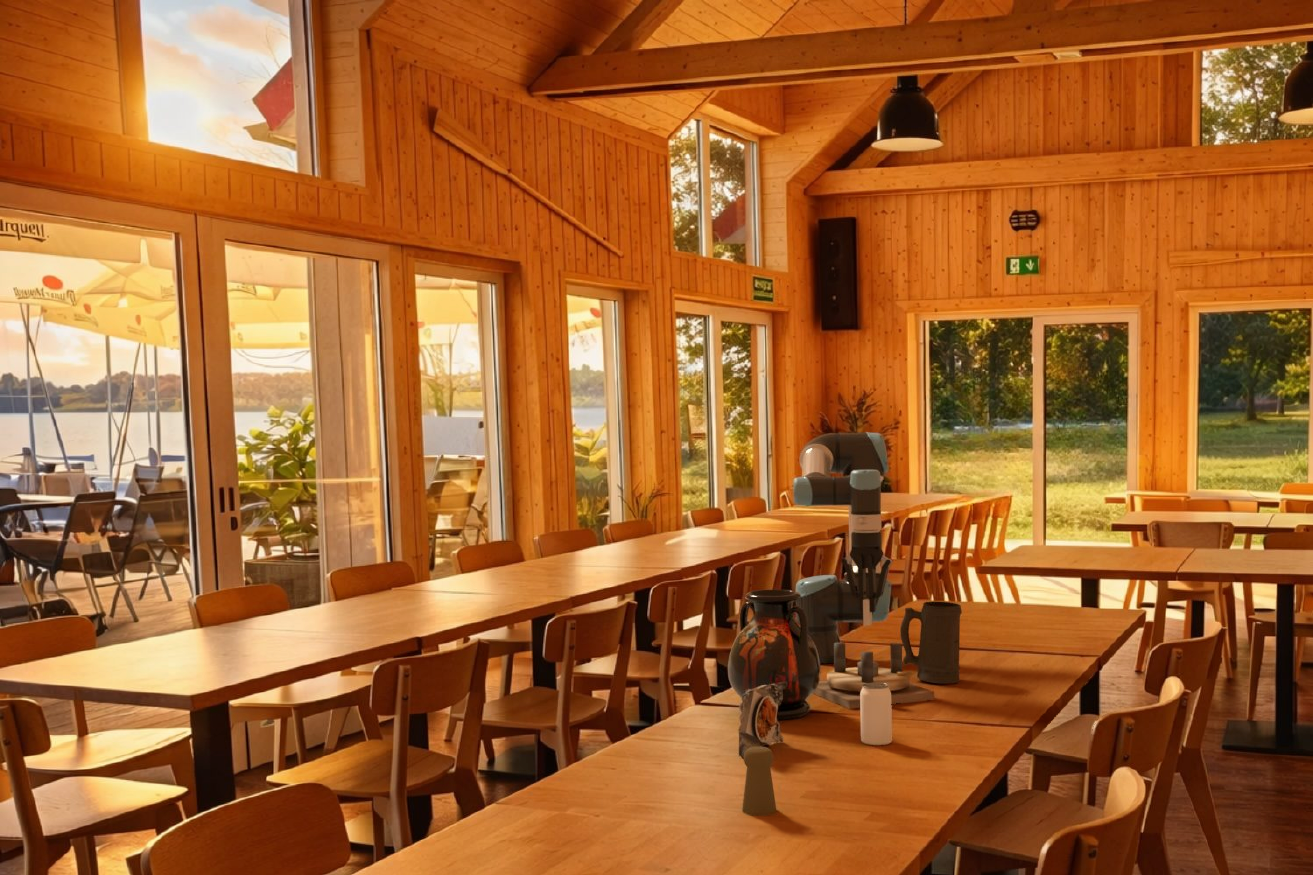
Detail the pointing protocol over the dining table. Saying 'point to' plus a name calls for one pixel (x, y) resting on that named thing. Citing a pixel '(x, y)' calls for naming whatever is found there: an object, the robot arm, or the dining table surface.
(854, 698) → the stand
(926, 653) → the beer stein
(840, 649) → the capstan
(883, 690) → the can
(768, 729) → the meal
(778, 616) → the amphora vase
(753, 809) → the brown tapered piece
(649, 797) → the dining table surface
